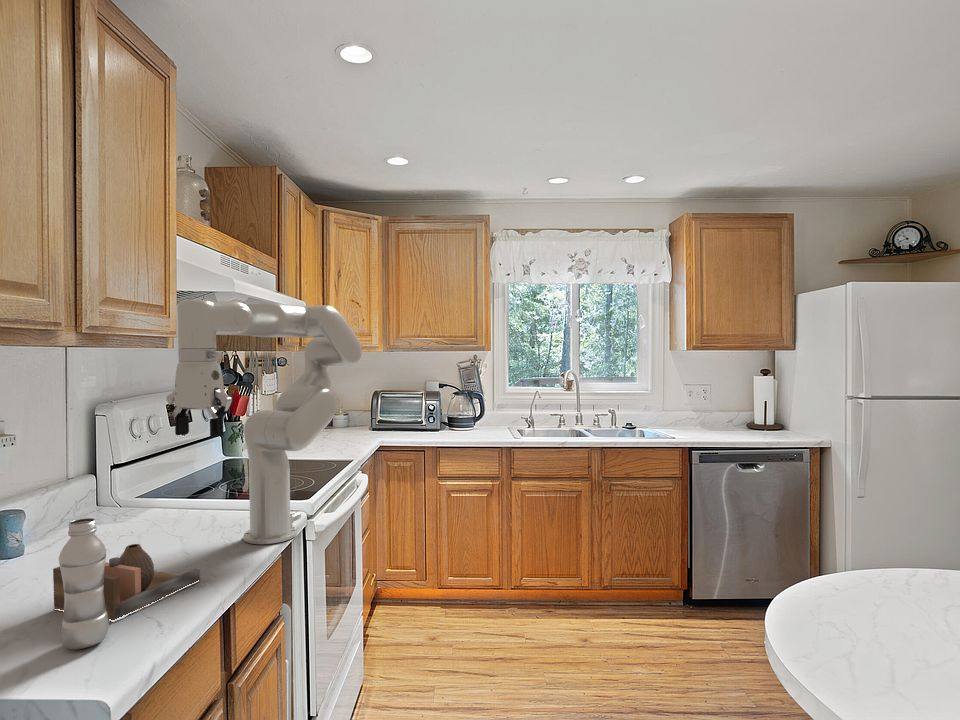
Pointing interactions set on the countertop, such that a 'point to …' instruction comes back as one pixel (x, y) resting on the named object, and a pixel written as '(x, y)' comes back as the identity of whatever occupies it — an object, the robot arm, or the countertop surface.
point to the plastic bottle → (83, 586)
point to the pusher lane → (115, 608)
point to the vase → (139, 563)
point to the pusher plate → (125, 578)
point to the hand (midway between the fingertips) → (199, 435)
